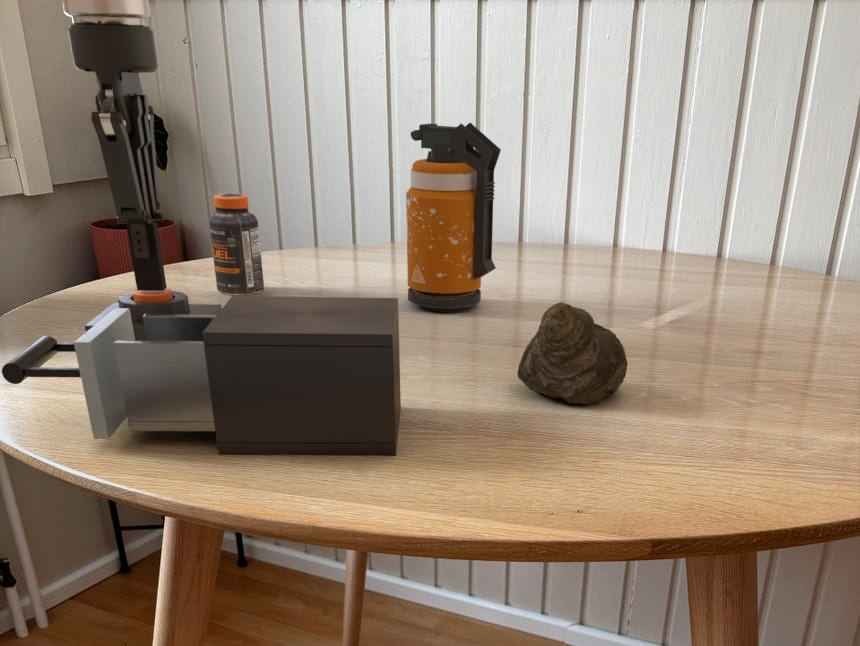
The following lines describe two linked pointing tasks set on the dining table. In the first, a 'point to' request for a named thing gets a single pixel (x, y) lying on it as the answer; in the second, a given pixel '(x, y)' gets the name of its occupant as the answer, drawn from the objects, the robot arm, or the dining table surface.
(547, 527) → the dining table surface
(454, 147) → the canister
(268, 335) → the drawer cabinet
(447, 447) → the dining table surface
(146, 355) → the dispenser drawer
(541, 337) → the seashell
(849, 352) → the dining table surface
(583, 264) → the dining table surface
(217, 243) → the pill bottle
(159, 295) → the button
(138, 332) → the control block
